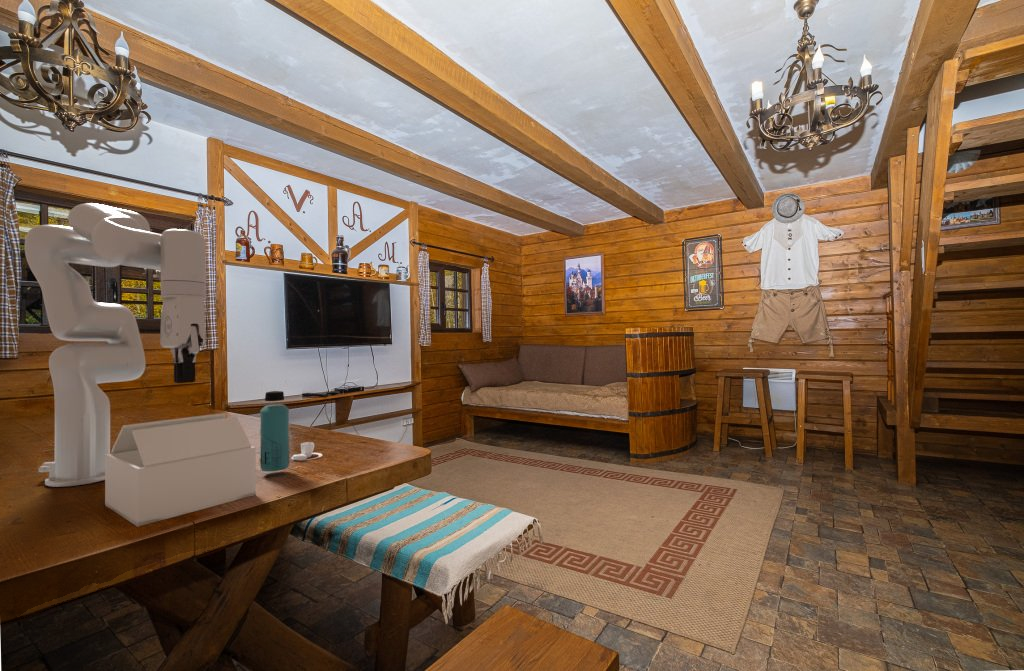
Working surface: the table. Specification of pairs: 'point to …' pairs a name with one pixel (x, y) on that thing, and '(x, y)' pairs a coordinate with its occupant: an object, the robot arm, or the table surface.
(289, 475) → the table surface
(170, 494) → the carton
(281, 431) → the beverage bottle
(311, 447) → the teacup and saucer
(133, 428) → the far flap
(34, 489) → the table surface
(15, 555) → the table surface
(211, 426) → the near flap
